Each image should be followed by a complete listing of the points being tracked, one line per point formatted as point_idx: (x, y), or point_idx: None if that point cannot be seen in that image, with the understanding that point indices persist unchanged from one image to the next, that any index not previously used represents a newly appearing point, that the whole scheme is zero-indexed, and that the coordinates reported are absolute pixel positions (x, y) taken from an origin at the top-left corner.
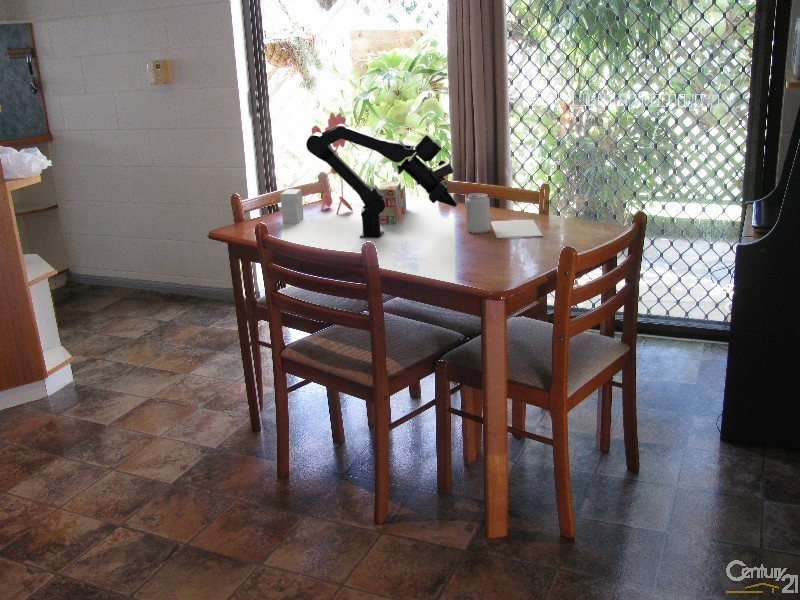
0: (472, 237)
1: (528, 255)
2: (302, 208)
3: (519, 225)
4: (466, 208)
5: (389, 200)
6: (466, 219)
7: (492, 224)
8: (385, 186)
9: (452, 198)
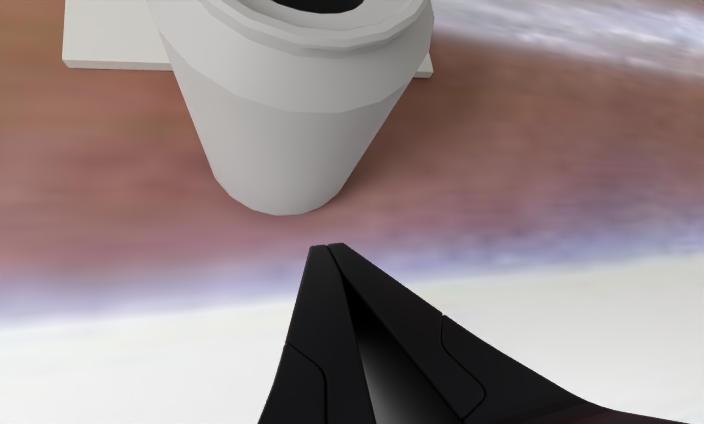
0: (409, 186)
1: (610, 12)
2: None
3: None
4: (324, 155)
5: None
6: (300, 194)
7: (162, 60)
8: None
9: (410, 295)
